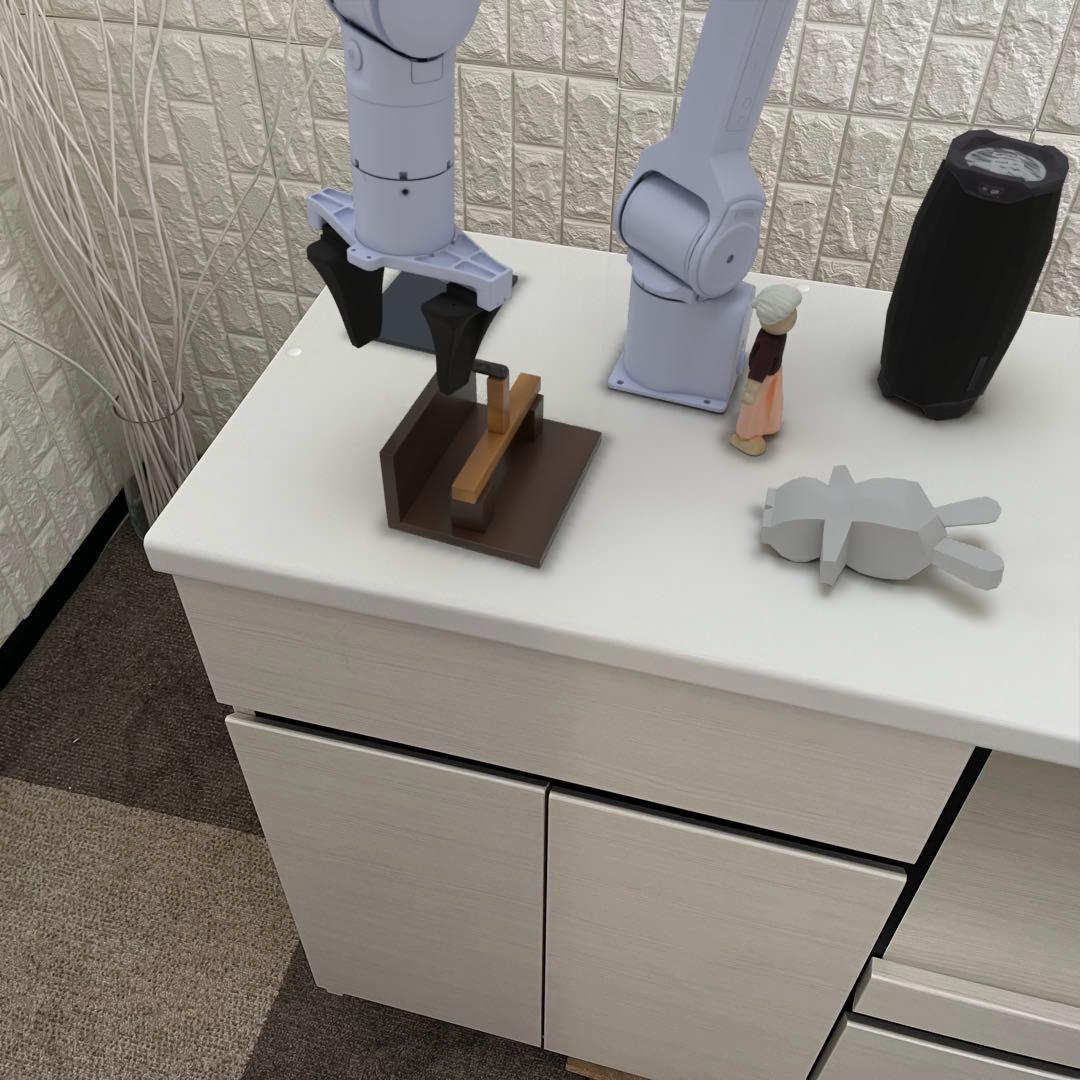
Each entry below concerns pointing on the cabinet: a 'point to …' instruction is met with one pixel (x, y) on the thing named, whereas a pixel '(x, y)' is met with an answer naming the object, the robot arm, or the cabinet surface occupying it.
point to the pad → (410, 311)
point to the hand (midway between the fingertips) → (409, 363)
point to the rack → (512, 490)
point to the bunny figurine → (876, 529)
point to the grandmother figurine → (766, 368)
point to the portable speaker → (969, 270)
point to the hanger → (495, 426)
